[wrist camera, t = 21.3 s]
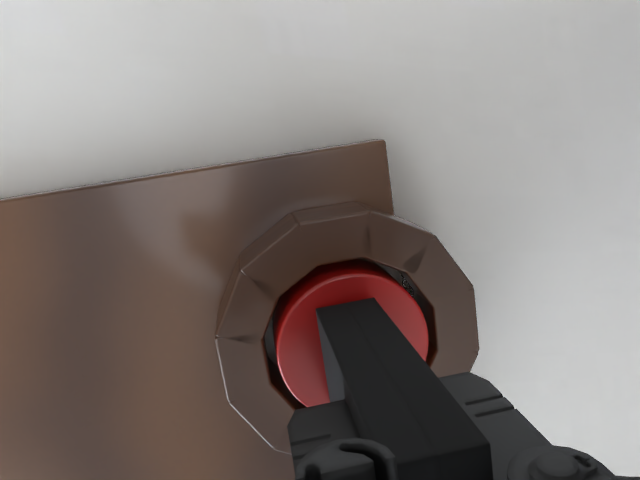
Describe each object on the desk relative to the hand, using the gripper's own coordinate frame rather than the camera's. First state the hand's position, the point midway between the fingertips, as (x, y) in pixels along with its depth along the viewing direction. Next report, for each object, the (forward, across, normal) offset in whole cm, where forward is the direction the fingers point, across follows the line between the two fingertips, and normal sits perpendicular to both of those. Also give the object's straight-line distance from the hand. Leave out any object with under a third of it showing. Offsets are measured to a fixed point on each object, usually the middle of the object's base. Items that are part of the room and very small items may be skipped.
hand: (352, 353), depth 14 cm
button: (+2, 0, 0) cm, 2 cm away
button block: (+3, +7, 0) cm, 8 cm away
